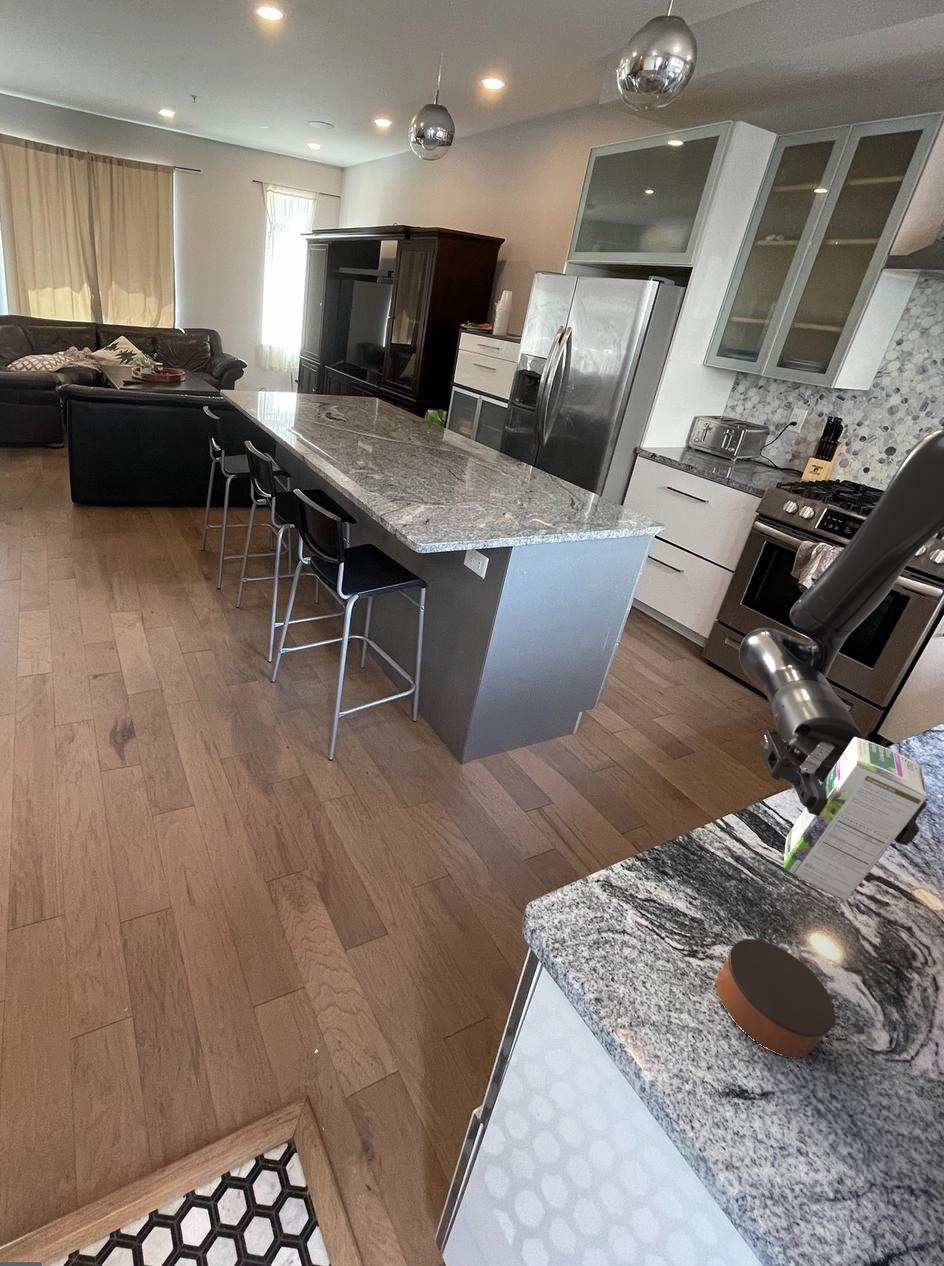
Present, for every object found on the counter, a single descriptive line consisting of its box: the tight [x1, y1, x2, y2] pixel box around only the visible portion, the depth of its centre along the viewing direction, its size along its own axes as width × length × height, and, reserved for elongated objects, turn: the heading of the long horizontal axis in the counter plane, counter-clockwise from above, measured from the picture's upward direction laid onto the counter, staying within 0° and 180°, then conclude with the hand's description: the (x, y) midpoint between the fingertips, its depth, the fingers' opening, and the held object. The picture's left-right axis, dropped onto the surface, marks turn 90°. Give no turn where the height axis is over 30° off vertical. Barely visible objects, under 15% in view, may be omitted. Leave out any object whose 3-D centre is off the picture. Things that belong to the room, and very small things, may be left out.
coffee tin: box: [715, 938, 836, 1059], centre depth 62 cm, size 9×9×4 cm
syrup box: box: [783, 737, 928, 902], centre depth 61 cm, size 6×6×14 cm
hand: (862, 822), depth 59 cm, fingers closed on syrup box, 7 cm apart
